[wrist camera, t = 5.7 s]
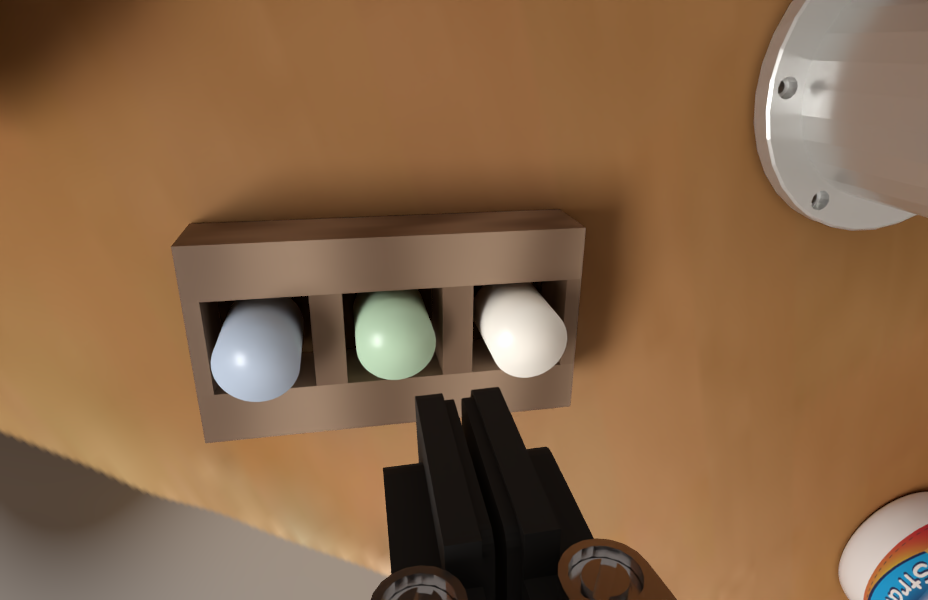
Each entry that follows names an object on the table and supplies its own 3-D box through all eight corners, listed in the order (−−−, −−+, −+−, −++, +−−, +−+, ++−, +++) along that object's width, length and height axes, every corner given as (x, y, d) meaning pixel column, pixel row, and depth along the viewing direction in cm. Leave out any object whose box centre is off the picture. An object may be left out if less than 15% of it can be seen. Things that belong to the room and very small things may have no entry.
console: (559, 209, 27) (586, 227, 24) (548, 373, 30) (570, 406, 27) (189, 223, 24) (170, 246, 21) (218, 402, 27) (205, 443, 24)
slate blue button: (300, 287, 25) (296, 323, 22) (307, 354, 26) (303, 398, 23) (221, 291, 24) (204, 329, 21) (231, 360, 25) (217, 405, 22)
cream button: (541, 273, 27) (569, 303, 23) (537, 336, 28) (564, 374, 25) (472, 277, 26) (492, 309, 23) (471, 341, 27) (490, 380, 24)
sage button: (422, 274, 26) (435, 305, 23) (423, 338, 27) (436, 376, 24) (351, 278, 26) (353, 311, 23) (355, 343, 27) (358, 383, 24)
